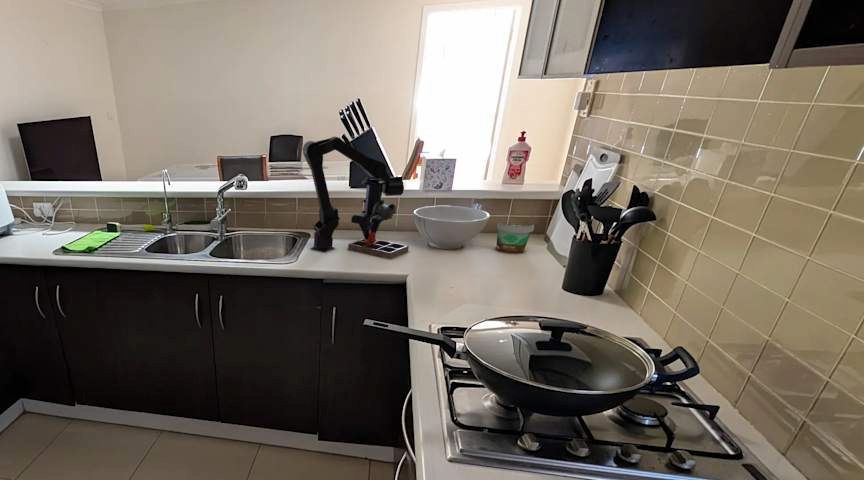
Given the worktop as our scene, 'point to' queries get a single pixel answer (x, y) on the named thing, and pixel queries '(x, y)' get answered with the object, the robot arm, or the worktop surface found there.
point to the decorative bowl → (449, 225)
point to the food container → (512, 238)
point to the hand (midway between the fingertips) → (369, 238)
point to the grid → (378, 248)
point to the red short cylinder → (371, 237)
